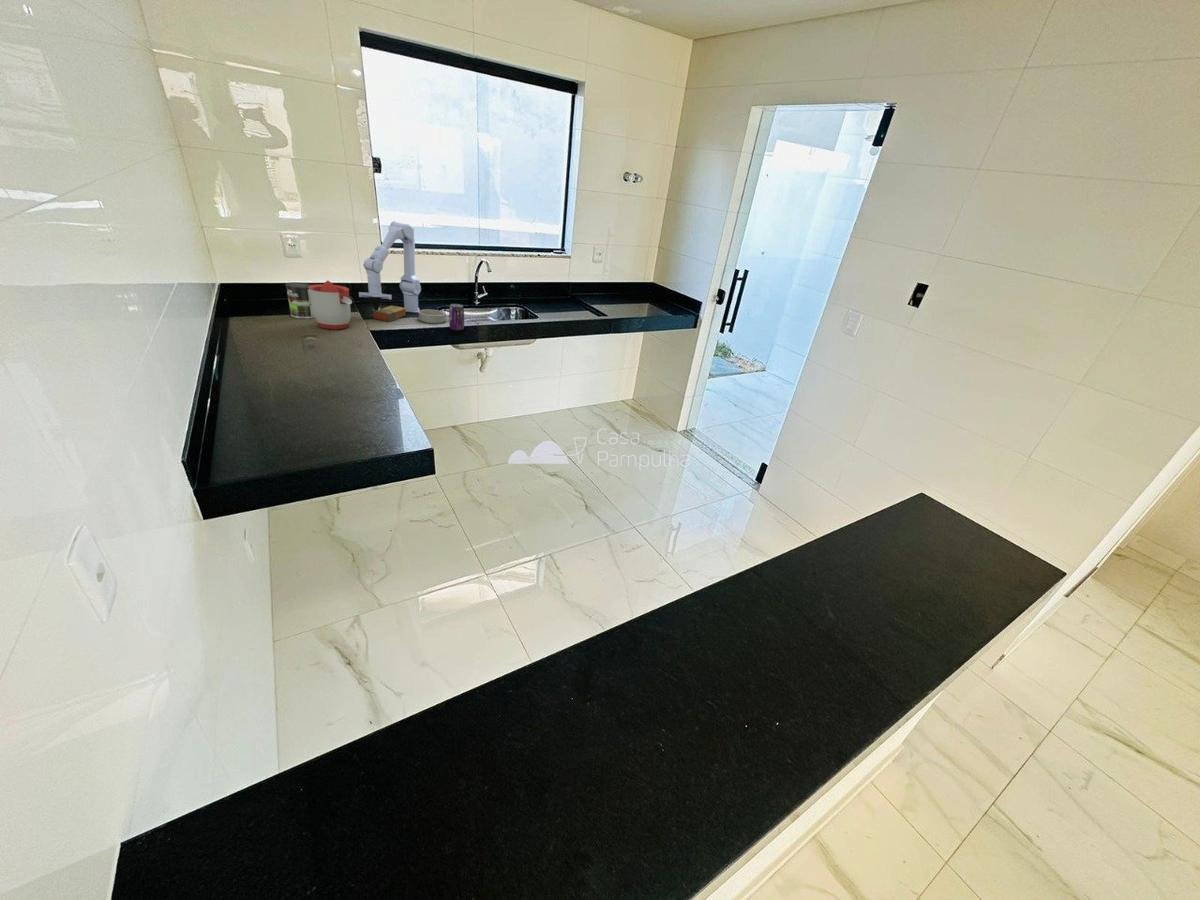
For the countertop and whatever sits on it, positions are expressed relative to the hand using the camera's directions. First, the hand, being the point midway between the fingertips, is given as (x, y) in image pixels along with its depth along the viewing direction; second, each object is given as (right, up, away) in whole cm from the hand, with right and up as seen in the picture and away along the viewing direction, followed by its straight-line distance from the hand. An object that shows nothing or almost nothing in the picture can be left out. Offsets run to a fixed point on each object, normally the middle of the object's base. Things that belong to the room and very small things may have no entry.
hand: (376, 312), depth 233 cm
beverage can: (+40, -8, +1) cm, 41 cm away
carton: (+6, -2, +3) cm, 7 cm away
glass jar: (-27, -6, -15) cm, 32 cm away
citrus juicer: (-7, -14, -24) cm, 28 cm away
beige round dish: (+25, -1, +9) cm, 26 cm away
